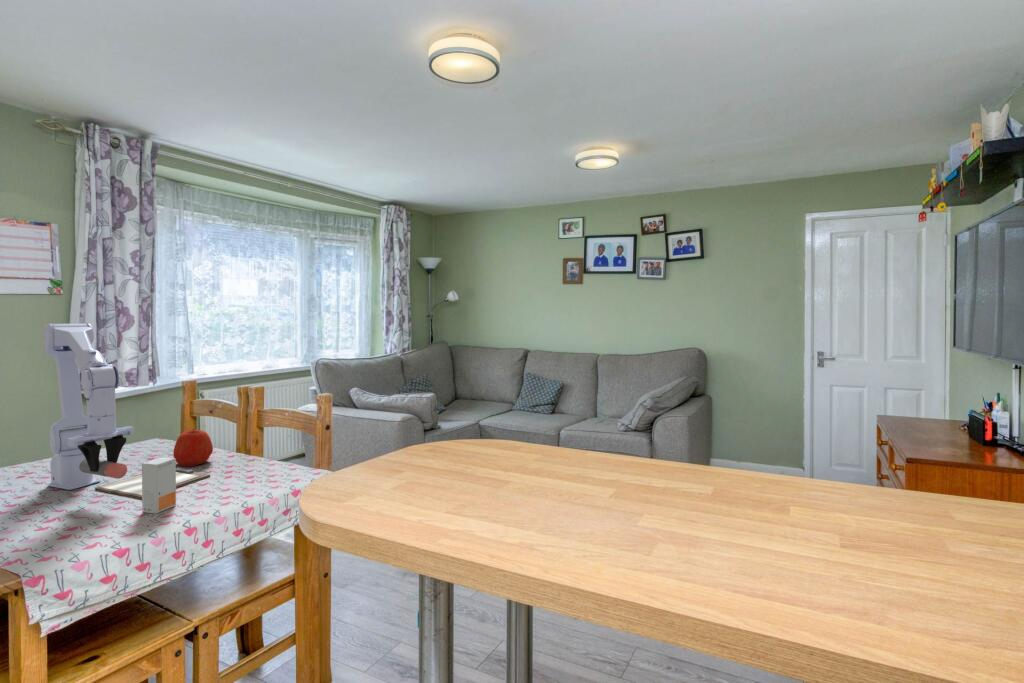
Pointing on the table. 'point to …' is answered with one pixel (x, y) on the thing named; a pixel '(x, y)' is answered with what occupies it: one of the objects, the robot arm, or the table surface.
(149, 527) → the table surface
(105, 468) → the marker
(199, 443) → the apple
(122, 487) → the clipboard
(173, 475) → the skincare box
